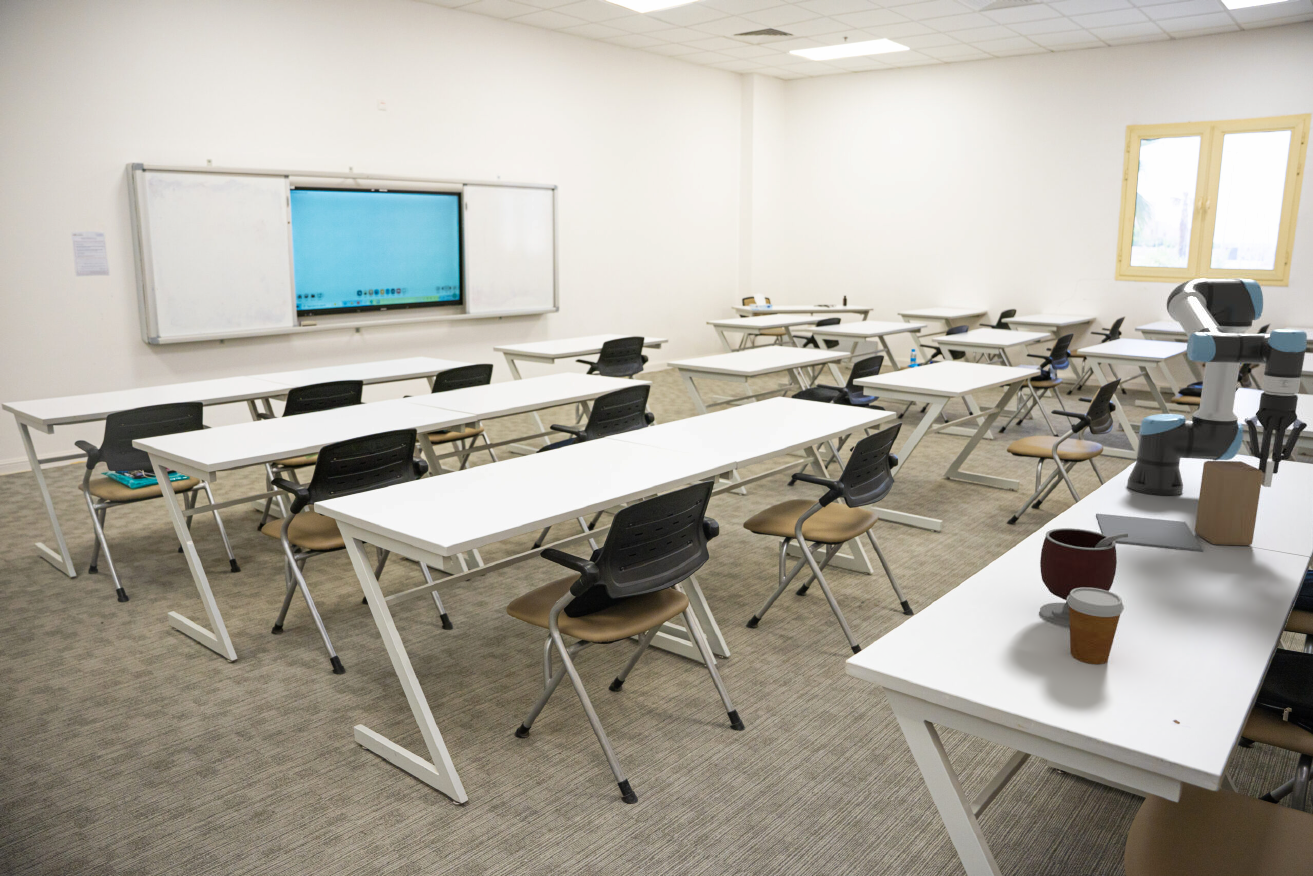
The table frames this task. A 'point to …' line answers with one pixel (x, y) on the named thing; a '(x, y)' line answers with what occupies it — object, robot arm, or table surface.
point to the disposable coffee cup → (1093, 623)
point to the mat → (1149, 531)
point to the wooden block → (1228, 502)
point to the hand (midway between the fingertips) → (1265, 485)
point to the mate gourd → (1075, 566)
